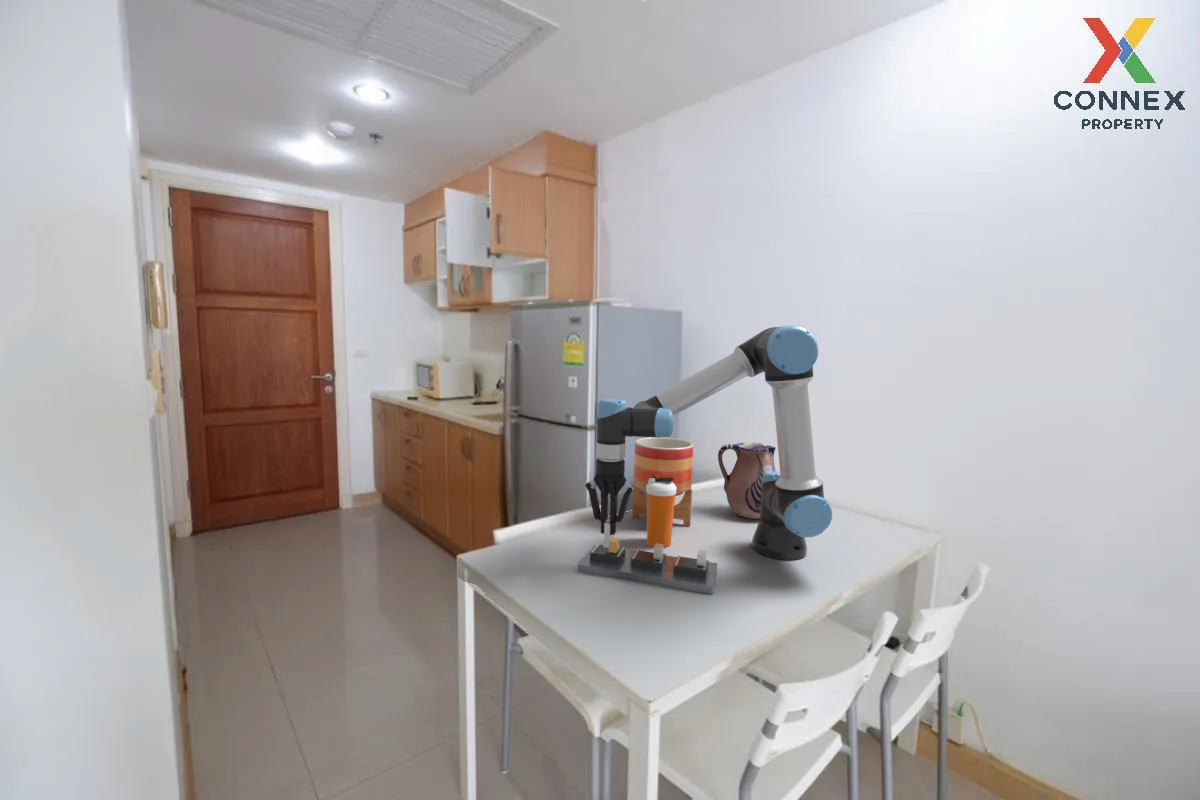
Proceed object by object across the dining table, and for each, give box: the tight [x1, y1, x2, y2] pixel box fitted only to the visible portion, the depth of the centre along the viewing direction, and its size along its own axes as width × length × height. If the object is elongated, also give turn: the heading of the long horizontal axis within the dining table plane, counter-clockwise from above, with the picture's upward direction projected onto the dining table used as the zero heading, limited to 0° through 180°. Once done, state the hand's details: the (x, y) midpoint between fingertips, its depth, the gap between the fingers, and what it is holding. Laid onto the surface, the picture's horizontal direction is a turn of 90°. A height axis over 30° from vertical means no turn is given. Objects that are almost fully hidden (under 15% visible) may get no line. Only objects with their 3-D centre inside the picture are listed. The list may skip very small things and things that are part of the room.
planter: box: [631, 437, 694, 528], centre depth 171 cm, size 20×20×27 cm
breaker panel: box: [576, 543, 718, 595], centre depth 134 cm, size 34×14×7 cm, turn 73°
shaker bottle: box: [645, 475, 676, 548], centre depth 152 cm, size 9×9×20 cm
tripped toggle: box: [609, 536, 621, 553], centre depth 136 cm, size 2×3×3 cm, turn 163°
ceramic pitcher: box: [717, 442, 776, 520], centre depth 180 cm, size 18×21×25 cm
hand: (607, 545), depth 137 cm, fingers closed
